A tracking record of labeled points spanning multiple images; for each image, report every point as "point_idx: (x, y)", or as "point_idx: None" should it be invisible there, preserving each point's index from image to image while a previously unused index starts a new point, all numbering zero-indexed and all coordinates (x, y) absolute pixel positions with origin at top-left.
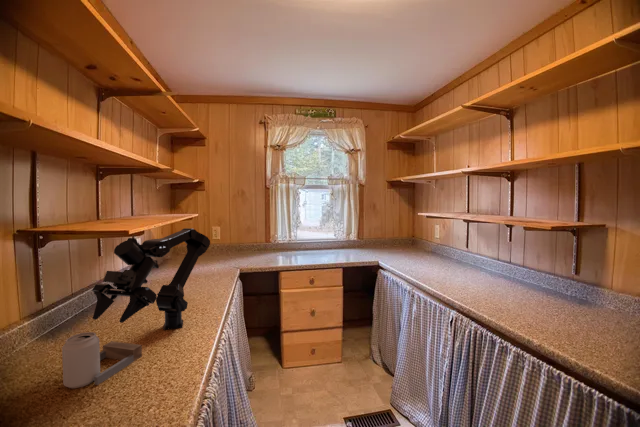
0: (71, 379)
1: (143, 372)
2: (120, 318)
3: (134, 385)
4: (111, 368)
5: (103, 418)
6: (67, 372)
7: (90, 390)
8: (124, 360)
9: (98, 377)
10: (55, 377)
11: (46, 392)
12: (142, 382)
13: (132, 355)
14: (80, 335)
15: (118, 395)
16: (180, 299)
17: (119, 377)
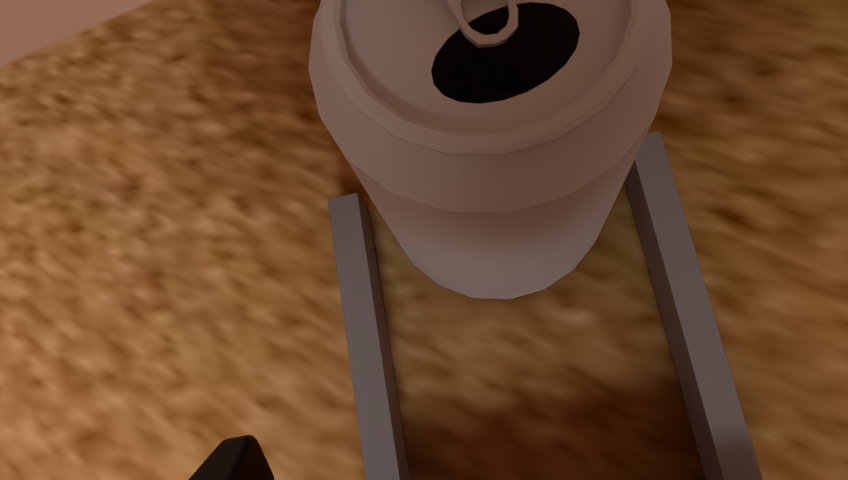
0: (438, 79)
1: (168, 454)
2: (235, 468)
3: (101, 316)
4: (348, 317)
5: (31, 71)
6: (463, 40)
7: (330, 166)
8: (364, 448)
9: (331, 208)
10: (739, 142)
11: None
12: (76, 361)
13: None
14: (611, 54)
15: (114, 209)
16: None
17: (285, 335)
